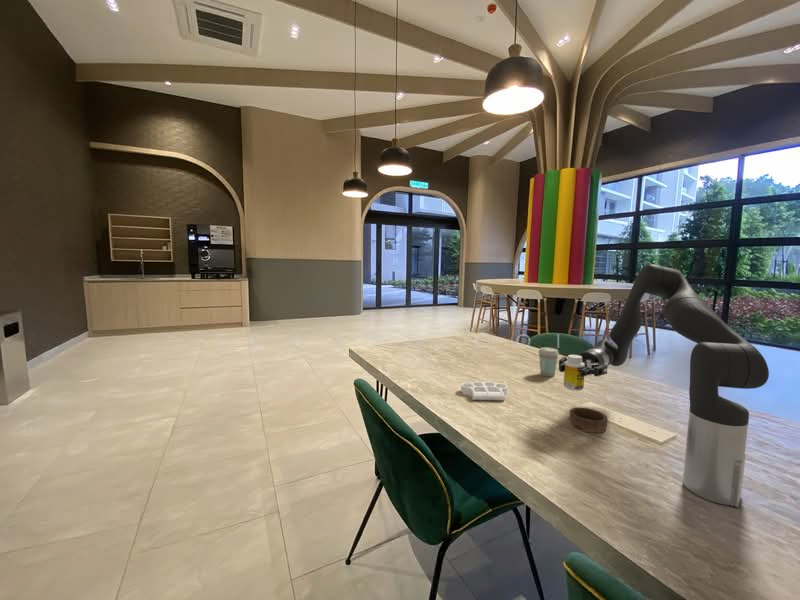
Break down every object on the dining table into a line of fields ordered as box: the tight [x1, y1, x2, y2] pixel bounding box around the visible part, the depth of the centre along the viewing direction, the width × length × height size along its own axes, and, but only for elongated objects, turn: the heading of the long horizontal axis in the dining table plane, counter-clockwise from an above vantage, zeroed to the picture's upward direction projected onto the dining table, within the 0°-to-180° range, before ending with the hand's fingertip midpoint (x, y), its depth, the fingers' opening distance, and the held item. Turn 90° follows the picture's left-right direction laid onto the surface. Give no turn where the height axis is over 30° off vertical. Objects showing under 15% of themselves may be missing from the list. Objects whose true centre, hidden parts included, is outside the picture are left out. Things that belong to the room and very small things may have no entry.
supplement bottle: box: [563, 354, 585, 392], centre depth 104 cm, size 6×6×10 cm
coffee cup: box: [538, 346, 560, 378], centre depth 152 cm, size 8×9×12 cm
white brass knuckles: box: [460, 381, 509, 402], centre depth 130 cm, size 3×18×15 cm
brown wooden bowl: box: [569, 407, 609, 434], centre depth 104 cm, size 10×10×4 cm
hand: (571, 371), depth 102 cm, fingers closed on supplement bottle, 5 cm apart
